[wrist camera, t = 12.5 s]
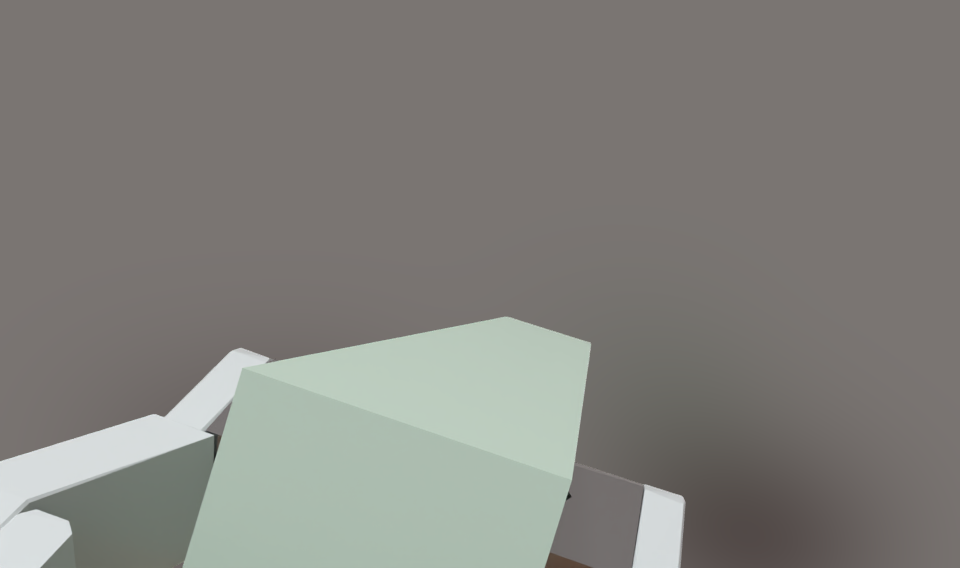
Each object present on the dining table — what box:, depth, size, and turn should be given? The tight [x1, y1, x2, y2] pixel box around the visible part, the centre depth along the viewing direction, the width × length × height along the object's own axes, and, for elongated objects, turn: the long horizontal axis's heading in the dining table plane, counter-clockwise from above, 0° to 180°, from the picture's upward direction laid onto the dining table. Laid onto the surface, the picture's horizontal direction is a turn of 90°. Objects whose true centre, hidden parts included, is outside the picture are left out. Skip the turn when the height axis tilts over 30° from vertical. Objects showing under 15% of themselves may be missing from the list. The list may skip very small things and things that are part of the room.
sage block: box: [183, 317, 591, 568], centre depth 17 cm, size 3×21×4 cm, turn 172°
